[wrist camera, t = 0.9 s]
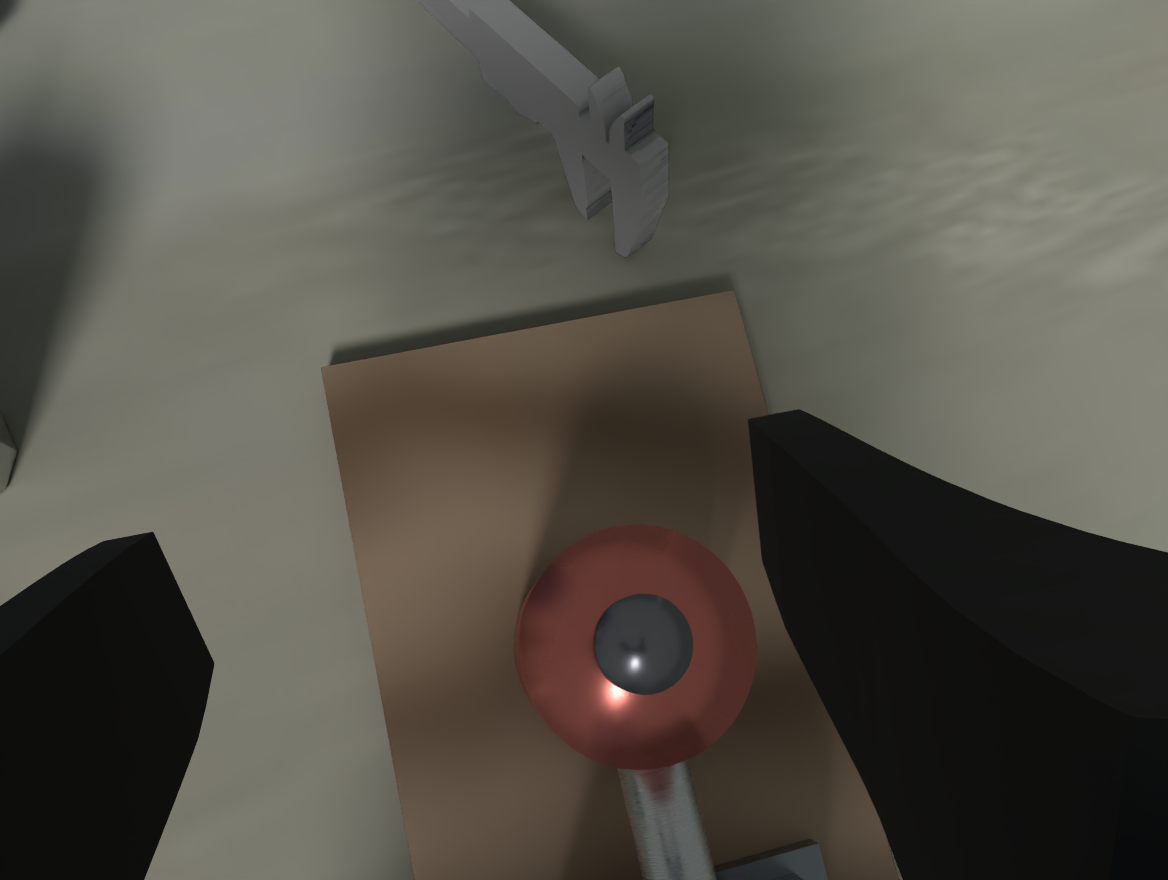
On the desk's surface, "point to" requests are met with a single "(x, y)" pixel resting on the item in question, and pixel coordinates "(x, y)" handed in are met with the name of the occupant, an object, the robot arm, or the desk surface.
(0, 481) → the milkshake
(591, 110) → the caliper
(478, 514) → the board
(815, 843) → the slotted metal block
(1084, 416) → the desk surface
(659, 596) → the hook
